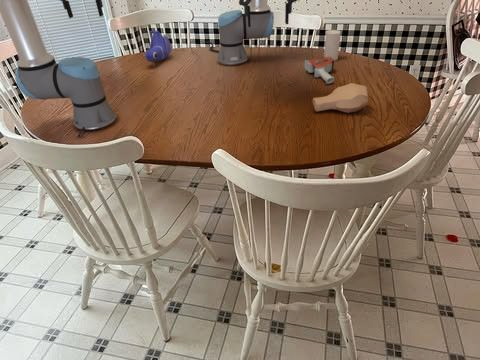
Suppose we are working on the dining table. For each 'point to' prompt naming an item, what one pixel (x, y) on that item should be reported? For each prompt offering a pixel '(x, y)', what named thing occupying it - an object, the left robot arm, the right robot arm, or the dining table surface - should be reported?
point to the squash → (343, 99)
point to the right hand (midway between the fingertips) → (268, 24)
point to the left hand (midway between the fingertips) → (86, 16)
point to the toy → (158, 48)
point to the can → (332, 44)
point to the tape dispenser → (321, 68)
